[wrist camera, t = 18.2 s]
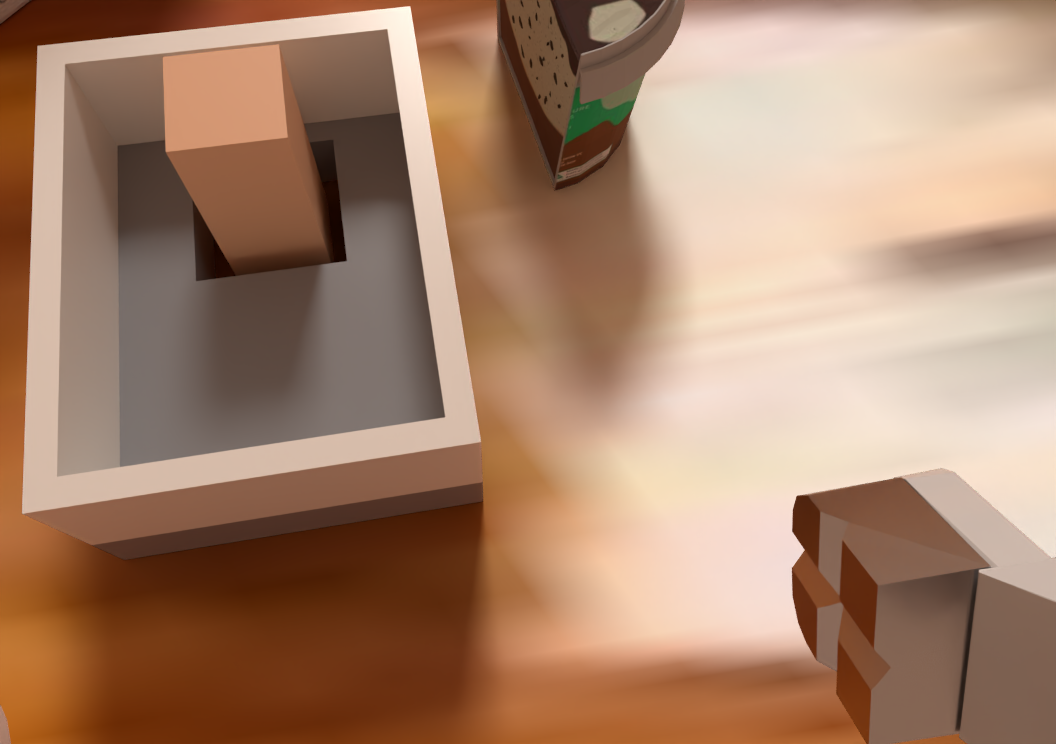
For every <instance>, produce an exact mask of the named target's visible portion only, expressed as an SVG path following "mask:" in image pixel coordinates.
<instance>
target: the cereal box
mask: <svg viewBox="0 0 1056 744" xmlns="http://www.w3.org/2000/svg"><path fill="white" fill-rule="evenodd" d="M29 1H30V0H0V24H1V23H2V22H3V21H5V20H6V19H7V18H9V17H10V16H11V15H12V14H14V13H15V12H16V11H18V10H19V9H20V8H21V7H23V6H24V5H25V4H27V3H28V2H29Z"/></svg>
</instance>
